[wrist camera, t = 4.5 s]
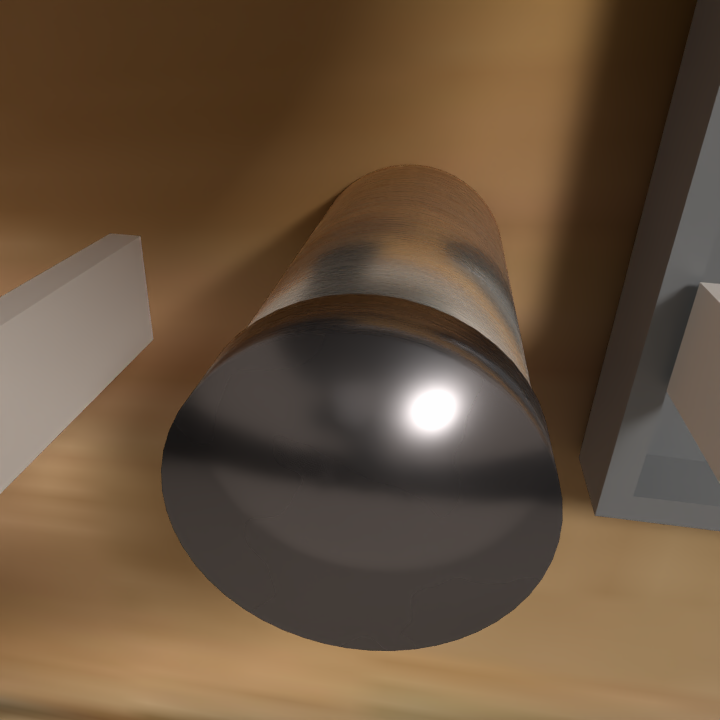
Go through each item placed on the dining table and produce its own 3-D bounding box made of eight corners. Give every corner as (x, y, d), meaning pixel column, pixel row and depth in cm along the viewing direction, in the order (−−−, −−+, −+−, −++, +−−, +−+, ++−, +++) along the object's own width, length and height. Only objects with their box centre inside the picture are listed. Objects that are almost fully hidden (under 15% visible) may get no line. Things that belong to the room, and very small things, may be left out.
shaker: (314, 153, 16) (138, 312, 7) (521, 168, 16) (605, 360, 7) (313, 336, 19) (180, 622, 10) (491, 354, 18) (524, 674, 9)
